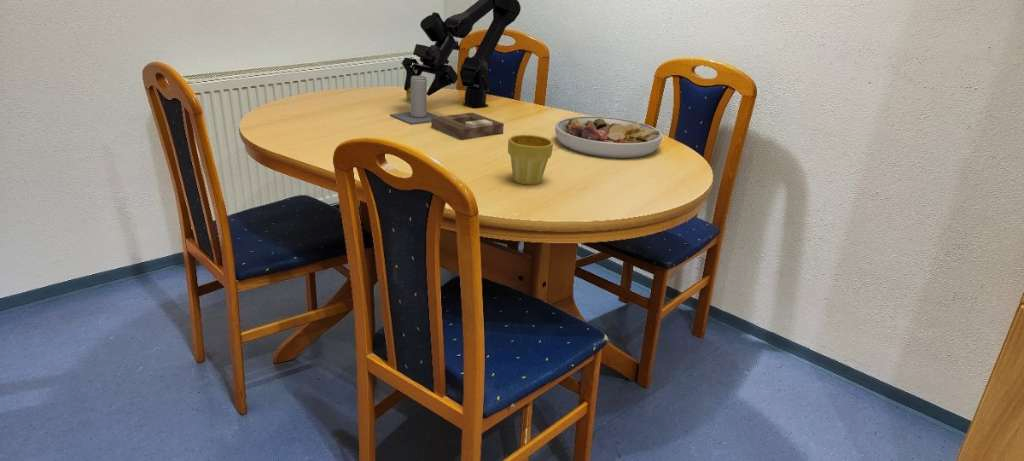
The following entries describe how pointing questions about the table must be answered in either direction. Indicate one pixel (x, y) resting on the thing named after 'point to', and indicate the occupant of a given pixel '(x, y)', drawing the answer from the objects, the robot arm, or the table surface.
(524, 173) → the plant pot
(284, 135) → the table surface
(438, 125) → the puzzle board
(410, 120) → the rubber mat
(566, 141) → the bowl
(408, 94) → the supplement bottle
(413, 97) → the beverage can
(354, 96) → the table surface
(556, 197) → the table surface
